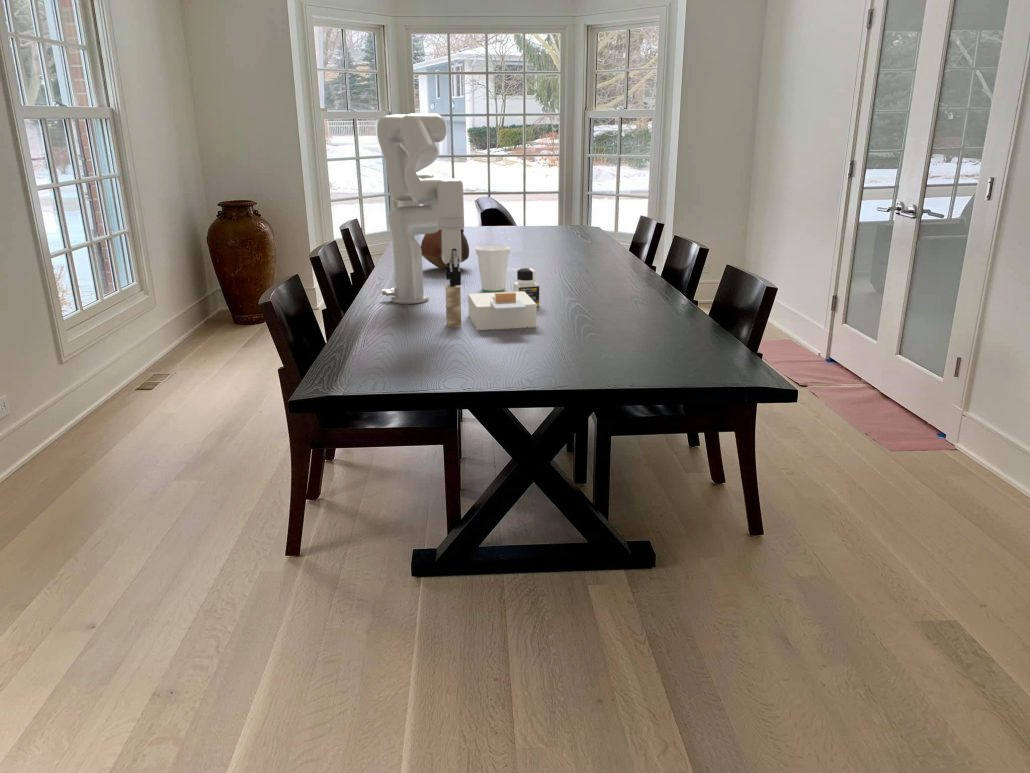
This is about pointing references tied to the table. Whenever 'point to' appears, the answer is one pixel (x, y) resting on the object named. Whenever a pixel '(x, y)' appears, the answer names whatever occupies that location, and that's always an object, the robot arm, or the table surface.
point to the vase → (440, 248)
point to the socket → (501, 312)
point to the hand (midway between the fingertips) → (453, 282)
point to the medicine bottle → (527, 284)
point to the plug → (453, 305)
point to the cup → (493, 266)
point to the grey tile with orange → (507, 302)
